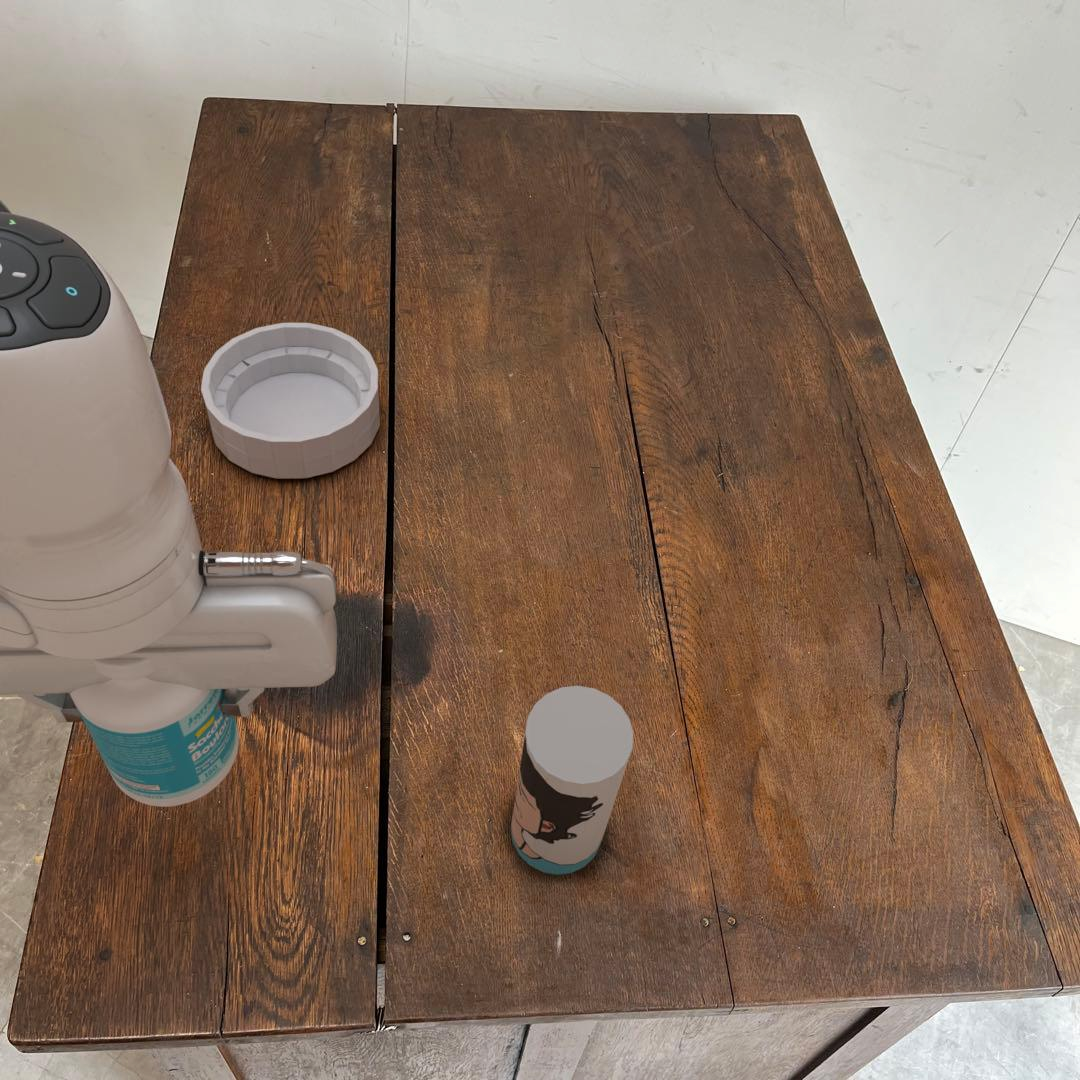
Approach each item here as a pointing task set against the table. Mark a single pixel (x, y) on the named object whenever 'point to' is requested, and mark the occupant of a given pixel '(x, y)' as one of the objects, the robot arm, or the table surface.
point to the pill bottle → (157, 733)
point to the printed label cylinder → (569, 777)
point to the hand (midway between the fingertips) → (158, 708)
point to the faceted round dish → (292, 400)
